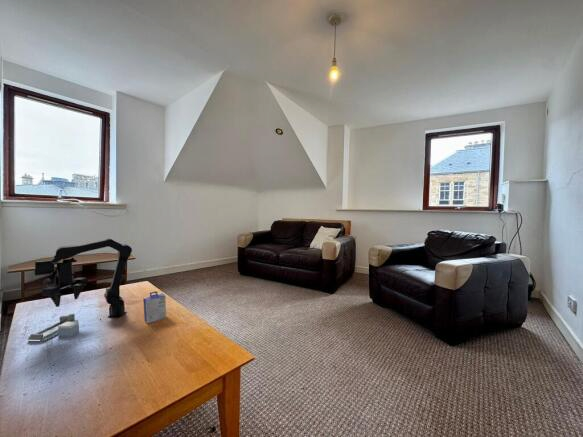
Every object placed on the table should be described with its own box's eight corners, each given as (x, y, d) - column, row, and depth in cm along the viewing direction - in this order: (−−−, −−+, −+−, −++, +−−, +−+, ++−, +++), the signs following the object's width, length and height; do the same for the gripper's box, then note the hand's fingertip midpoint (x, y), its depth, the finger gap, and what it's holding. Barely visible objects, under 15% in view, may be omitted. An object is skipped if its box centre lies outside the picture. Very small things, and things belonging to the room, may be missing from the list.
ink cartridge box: (163, 314, 138) (162, 289, 137) (167, 317, 134) (166, 291, 133) (143, 320, 131) (142, 293, 130) (146, 324, 127) (145, 296, 126)
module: (67, 331, 120) (66, 321, 120) (79, 331, 120) (78, 321, 119) (58, 336, 116) (58, 326, 115) (71, 336, 116) (70, 326, 115)
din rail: (78, 323, 128) (77, 313, 128) (44, 341, 111) (43, 329, 111) (64, 323, 128) (63, 313, 128) (28, 341, 111) (27, 329, 111)
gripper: (68, 266, 132) (70, 295, 133) (28, 277, 114) (31, 310, 115) (87, 267, 131) (89, 296, 132) (50, 277, 113) (53, 311, 114)
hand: (67, 302), depth 123 cm, fingers open, 9 cm apart
